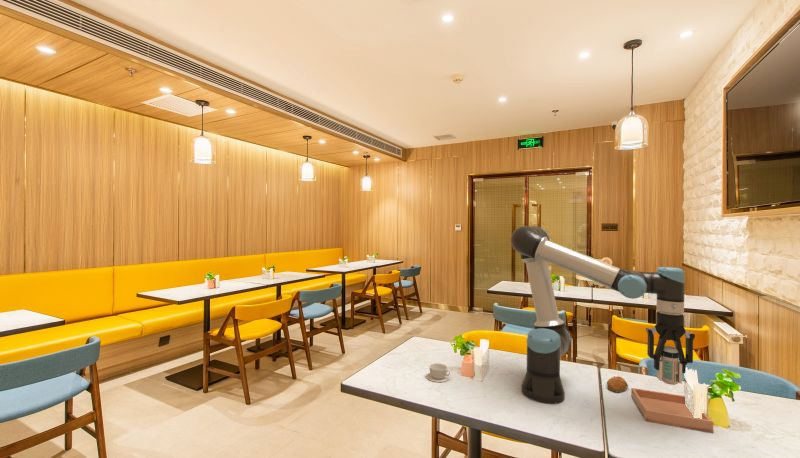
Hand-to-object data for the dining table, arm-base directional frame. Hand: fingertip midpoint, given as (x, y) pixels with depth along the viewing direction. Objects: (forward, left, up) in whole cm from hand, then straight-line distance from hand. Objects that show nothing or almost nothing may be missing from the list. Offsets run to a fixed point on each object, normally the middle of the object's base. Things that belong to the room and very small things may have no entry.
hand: (669, 380), depth 119 cm
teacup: (-80, -3, -12) cm, 81 cm away
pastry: (-12, +16, -12) cm, 23 cm away
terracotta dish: (0, 0, -11) cm, 11 cm away
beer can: (0, 0, -1) cm, 1 cm away
